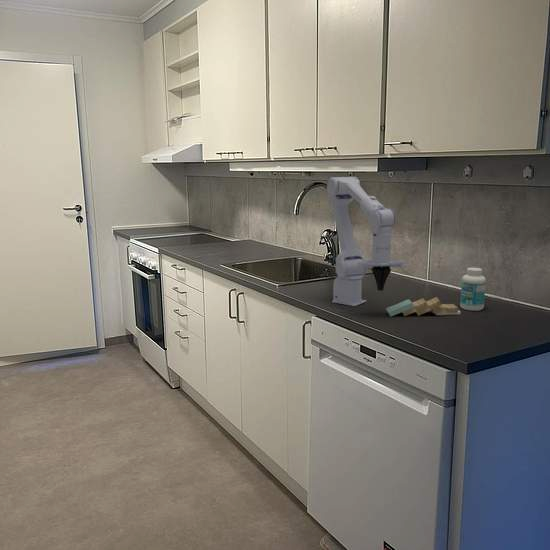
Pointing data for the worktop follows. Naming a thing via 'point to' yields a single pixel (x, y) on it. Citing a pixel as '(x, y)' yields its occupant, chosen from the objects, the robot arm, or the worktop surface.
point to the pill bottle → (473, 290)
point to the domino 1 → (399, 307)
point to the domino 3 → (429, 306)
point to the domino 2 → (416, 307)
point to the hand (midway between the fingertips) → (380, 289)
